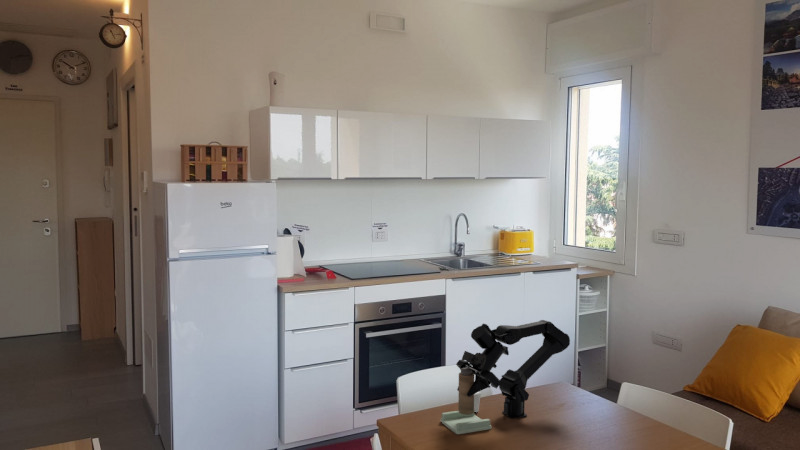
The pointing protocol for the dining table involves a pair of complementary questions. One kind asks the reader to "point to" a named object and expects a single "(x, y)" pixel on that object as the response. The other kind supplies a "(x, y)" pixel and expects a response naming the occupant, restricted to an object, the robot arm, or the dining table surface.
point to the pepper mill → (466, 391)
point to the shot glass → (476, 401)
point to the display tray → (464, 422)
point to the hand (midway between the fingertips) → (462, 393)
